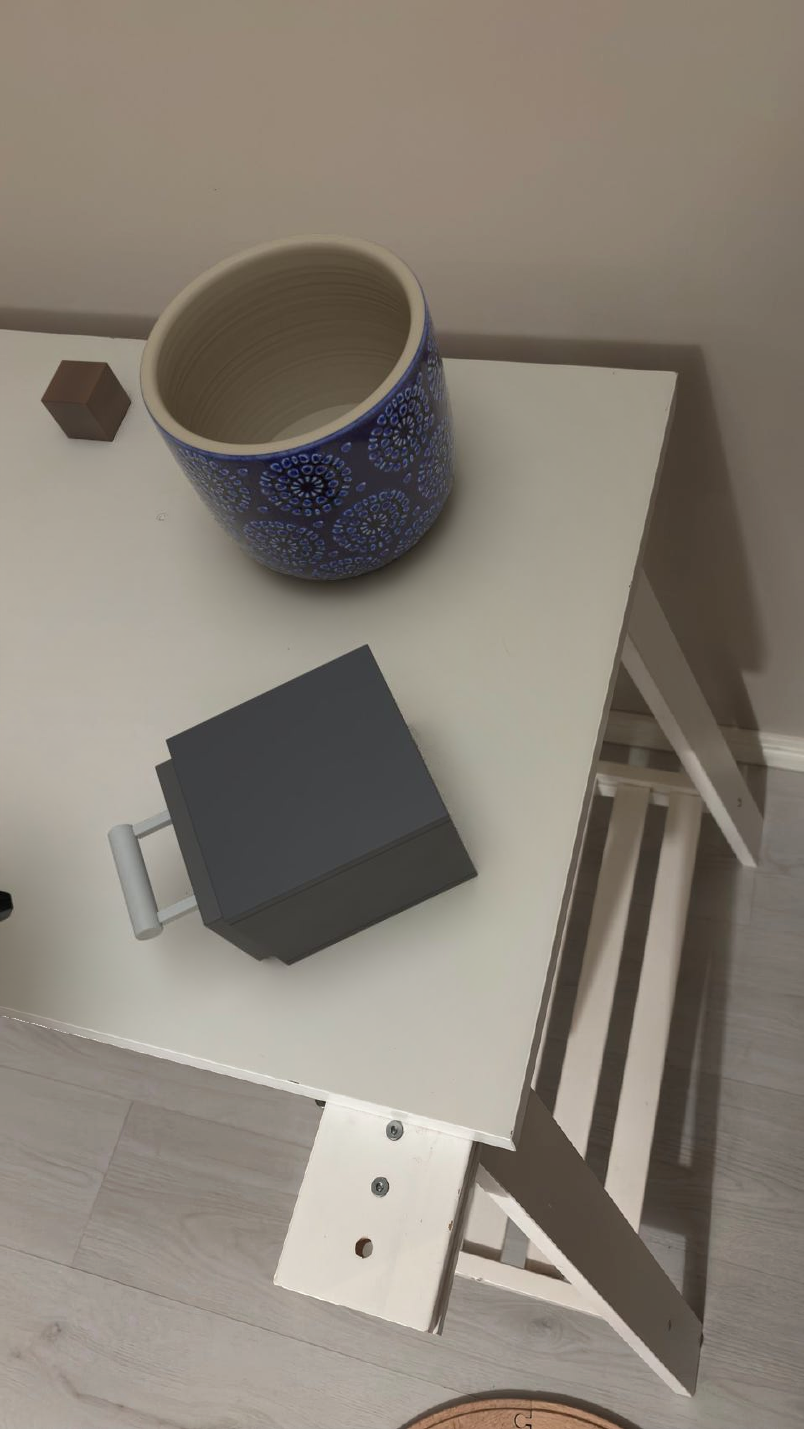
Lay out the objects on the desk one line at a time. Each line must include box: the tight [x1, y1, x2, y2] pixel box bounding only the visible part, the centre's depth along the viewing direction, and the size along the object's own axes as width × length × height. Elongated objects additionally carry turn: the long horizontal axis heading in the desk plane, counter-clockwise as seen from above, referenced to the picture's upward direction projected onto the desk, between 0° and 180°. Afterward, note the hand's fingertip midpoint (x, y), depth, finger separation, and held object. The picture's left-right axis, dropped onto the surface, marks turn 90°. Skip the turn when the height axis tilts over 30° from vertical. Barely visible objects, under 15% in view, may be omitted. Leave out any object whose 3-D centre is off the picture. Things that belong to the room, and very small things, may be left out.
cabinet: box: [165, 643, 479, 966], centre depth 52 cm, size 11×10×9 cm
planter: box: [139, 232, 457, 581], centre depth 60 cm, size 16×17×15 cm
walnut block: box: [40, 359, 132, 442], centre depth 74 cm, size 4×4×4 cm
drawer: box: [107, 758, 273, 962], centre depth 52 cm, size 14×9×8 cm, turn 113°
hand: (10, 905), depth 47 cm, fingers closed
